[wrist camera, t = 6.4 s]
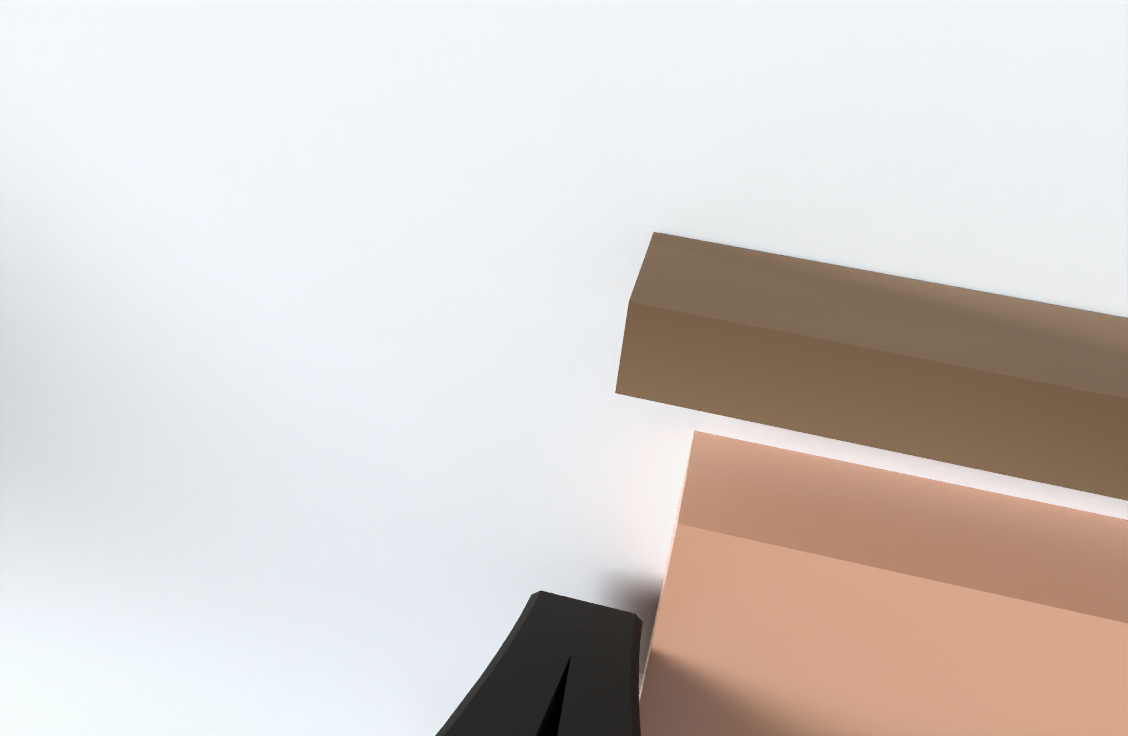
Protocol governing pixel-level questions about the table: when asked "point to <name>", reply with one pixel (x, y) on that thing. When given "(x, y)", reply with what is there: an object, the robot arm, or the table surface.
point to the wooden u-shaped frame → (882, 362)
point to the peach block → (881, 606)
